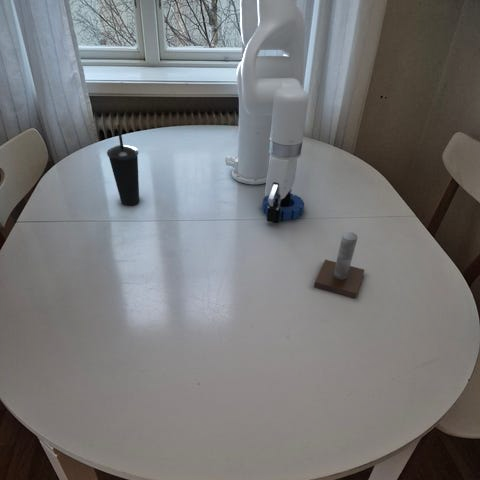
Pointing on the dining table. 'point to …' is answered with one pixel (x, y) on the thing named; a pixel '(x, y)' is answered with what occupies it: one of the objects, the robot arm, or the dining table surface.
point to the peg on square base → (341, 270)
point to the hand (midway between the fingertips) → (278, 214)
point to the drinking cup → (125, 171)
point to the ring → (287, 208)
